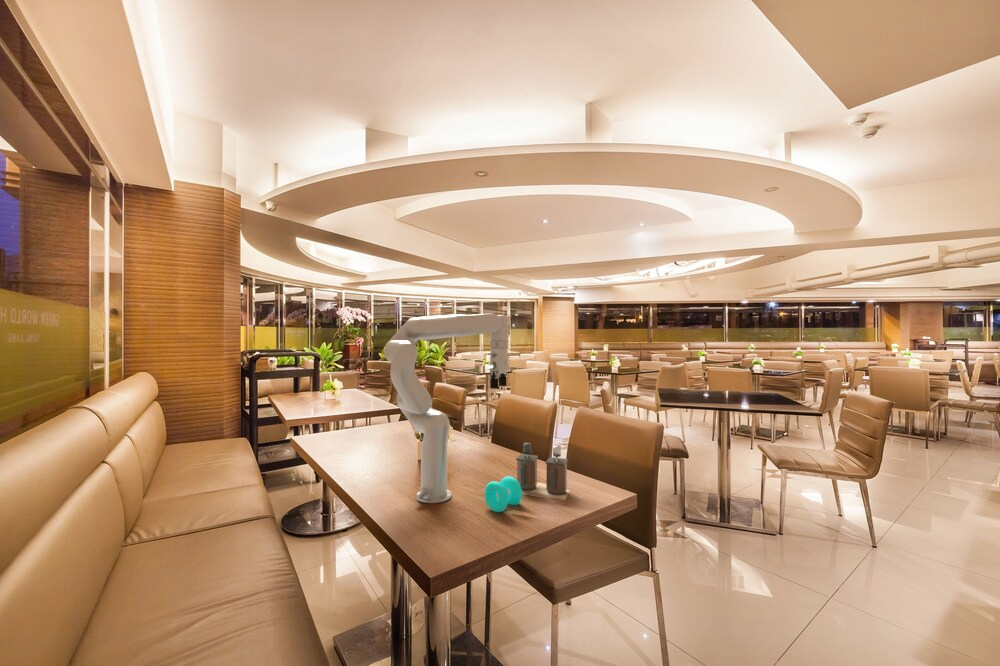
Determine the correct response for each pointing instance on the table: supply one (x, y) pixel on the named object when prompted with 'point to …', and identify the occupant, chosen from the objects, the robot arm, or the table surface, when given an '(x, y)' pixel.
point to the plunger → (556, 451)
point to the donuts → (503, 493)
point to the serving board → (545, 492)
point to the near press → (556, 476)
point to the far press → (527, 469)
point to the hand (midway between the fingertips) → (498, 387)
